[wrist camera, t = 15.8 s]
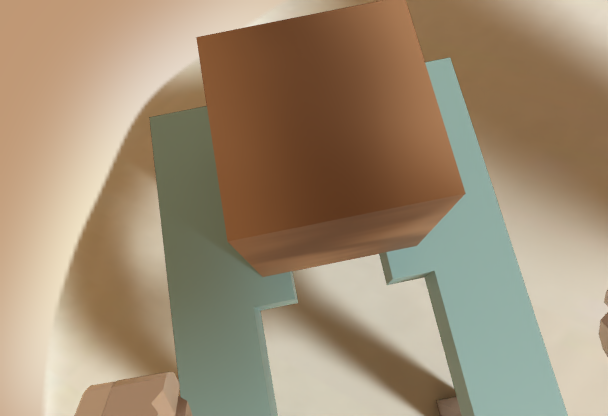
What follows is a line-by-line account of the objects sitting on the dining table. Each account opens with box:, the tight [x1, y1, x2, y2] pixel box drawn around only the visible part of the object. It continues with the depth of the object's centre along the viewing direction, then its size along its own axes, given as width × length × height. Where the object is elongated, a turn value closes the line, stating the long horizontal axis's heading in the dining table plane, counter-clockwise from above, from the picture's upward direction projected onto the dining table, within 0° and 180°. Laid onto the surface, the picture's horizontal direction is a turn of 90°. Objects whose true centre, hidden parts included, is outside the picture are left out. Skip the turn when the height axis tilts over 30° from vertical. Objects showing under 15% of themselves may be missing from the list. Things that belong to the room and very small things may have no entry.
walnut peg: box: [197, 0, 466, 277], centre depth 20 cm, size 6×6×15 cm
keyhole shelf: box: [149, 58, 568, 416], centre depth 26 cm, size 18×14×14 cm
